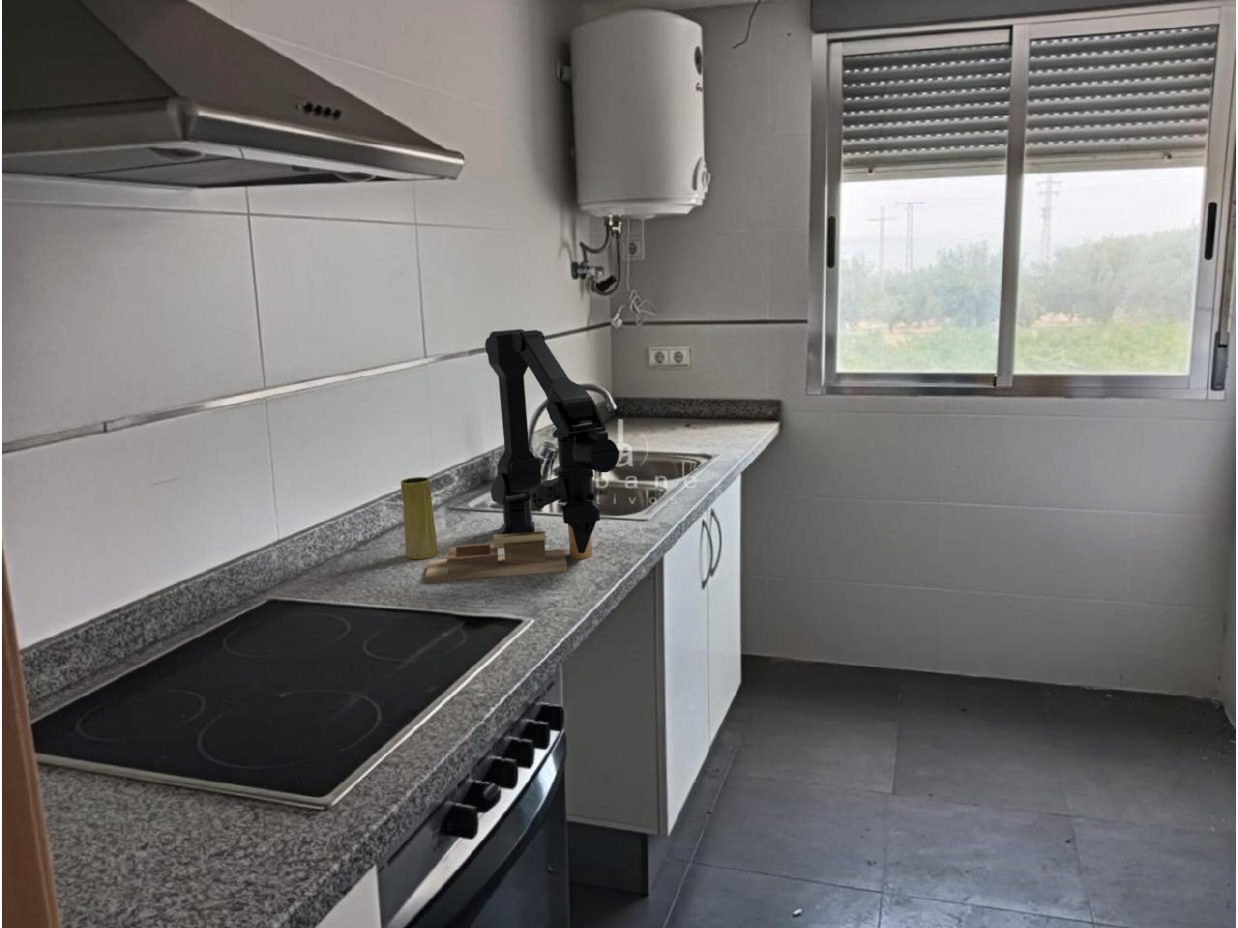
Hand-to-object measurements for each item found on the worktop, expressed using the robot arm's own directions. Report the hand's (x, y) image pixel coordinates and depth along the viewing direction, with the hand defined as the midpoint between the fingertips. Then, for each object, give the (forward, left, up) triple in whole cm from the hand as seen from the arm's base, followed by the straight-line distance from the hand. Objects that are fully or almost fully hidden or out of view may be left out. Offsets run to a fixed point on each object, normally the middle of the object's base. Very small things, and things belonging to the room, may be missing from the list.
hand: (580, 549), depth 178 cm
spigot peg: (0, 0, -1) cm, 1 cm away
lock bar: (+4, -11, +3) cm, 12 cm away
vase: (-9, -29, -1) cm, 30 cm away
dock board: (+4, -15, -1) cm, 15 cm away
